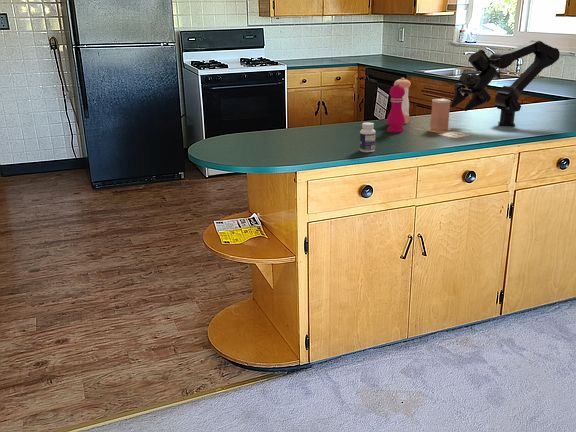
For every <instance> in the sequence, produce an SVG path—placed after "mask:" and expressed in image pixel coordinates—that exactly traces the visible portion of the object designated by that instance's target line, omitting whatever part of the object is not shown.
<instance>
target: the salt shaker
mask: <svg viewBox="0 0 576 432" xmlns="http://www.w3.org/2000/svg"><path fill="white" fill-rule="evenodd" d="M397 81H399V82H400V86H402V87H404V89H405V94H404V96H403V97H402V98H403V102H402V111H403V114H404V117H405V123H404V124H403V125H405V124H409V123H410V114H409V112H410V111H409V110H410V101H409V88H411V80H408V79H406V78H405V77H401V78H400V79H397V80H395V81H394V83H393V86H395V85H396V84H395V83H396V82H397Z"/></svg>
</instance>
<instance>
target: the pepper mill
mask: <svg viewBox="0 0 576 432" xmlns="http://www.w3.org/2000/svg"><path fill="white" fill-rule="evenodd" d="M394 83H395V82H394ZM395 84H396V85H395V86H394V85H393V86H391V88H390V89H389V96H390V102H391V109H390V111H389V113H388V115H387V118H386V124H387V125H389V126H387V132H390V133H402V132H404V127H403V126H404V125H405V124H404V123H405V117H404V114H403V111H402V102H403V98H402V97H403V96H404V94H405V89H404V87H402V86H400V82H399V81H397V82H396V83H395Z"/></svg>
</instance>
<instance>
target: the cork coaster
mask: <svg viewBox="0 0 576 432" xmlns="http://www.w3.org/2000/svg"><path fill="white" fill-rule="evenodd" d="M426 131H428V132H431V133H438V134H442V133H447V132H452V131H453V130H452V129H451V128H449V127H448V130H447V131H434V130H431V129H430V127H428V128H426Z"/></svg>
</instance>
